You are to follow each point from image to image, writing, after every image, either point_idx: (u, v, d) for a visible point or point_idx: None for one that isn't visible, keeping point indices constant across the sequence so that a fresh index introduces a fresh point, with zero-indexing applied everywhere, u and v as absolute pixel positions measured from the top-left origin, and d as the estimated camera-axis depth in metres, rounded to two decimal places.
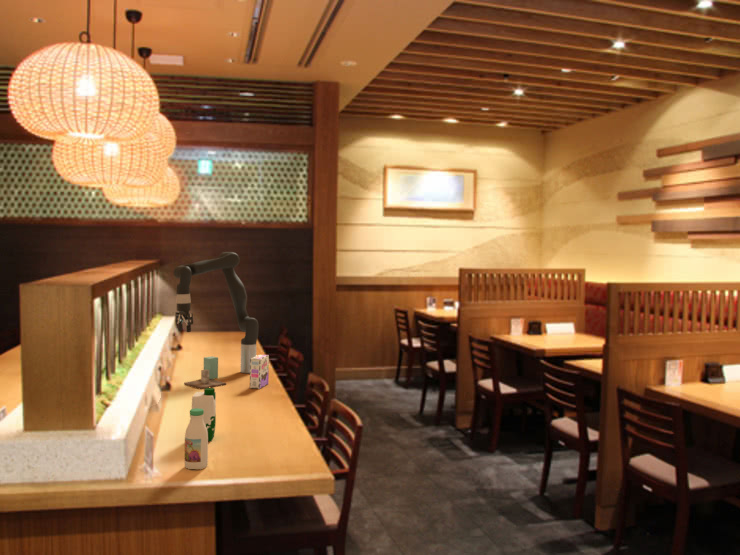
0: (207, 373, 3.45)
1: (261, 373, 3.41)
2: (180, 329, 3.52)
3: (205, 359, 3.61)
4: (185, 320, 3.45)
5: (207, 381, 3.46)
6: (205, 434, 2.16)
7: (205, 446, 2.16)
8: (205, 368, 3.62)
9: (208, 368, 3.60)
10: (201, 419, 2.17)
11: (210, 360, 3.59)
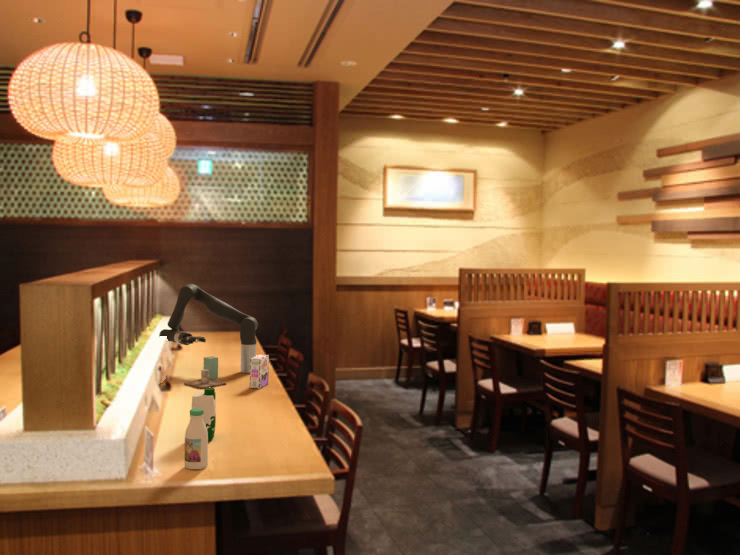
0: (207, 373, 3.45)
1: (261, 373, 3.41)
2: (203, 340, 3.74)
3: (205, 359, 3.61)
4: None
5: (207, 381, 3.46)
6: (205, 434, 2.16)
7: (205, 446, 2.16)
8: (205, 368, 3.62)
9: (208, 368, 3.60)
10: (201, 419, 2.17)
11: (210, 360, 3.59)
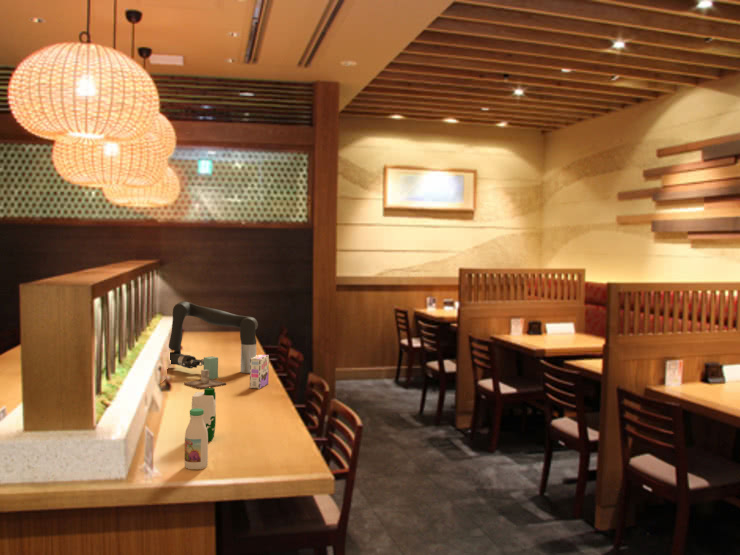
0: (207, 373, 3.45)
1: (261, 373, 3.41)
2: None
3: (205, 359, 3.61)
4: None
5: (207, 381, 3.46)
6: (205, 434, 2.16)
7: (205, 446, 2.16)
8: (205, 368, 3.62)
9: (208, 368, 3.60)
10: (201, 419, 2.17)
11: (210, 360, 3.59)
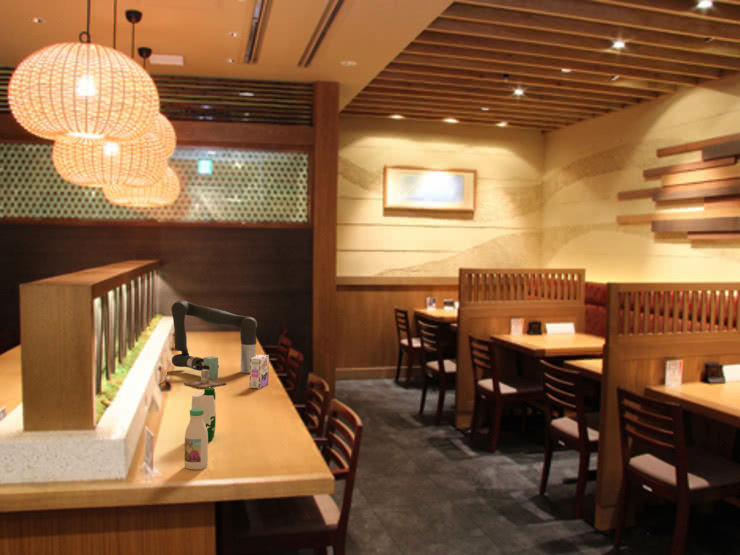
0: (207, 373, 3.45)
1: (261, 373, 3.41)
2: None
3: (205, 359, 3.61)
4: None
5: (207, 381, 3.46)
6: (205, 434, 2.16)
7: (205, 446, 2.16)
8: None
9: None
10: (201, 419, 2.17)
11: (210, 360, 3.59)
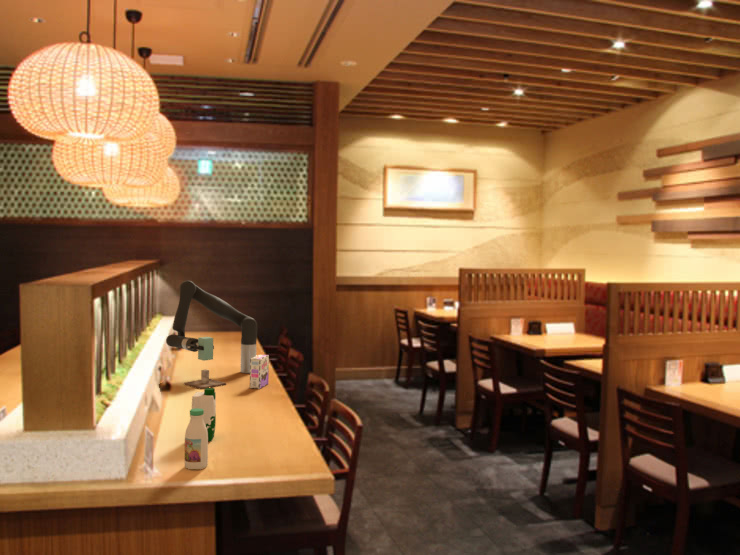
0: (207, 373, 3.45)
1: (261, 373, 3.41)
2: None
3: (200, 339, 3.47)
4: (196, 349, 3.49)
5: (207, 381, 3.46)
6: (205, 434, 2.16)
7: (205, 446, 2.16)
8: None
9: None
10: (201, 419, 2.17)
11: (205, 340, 3.45)
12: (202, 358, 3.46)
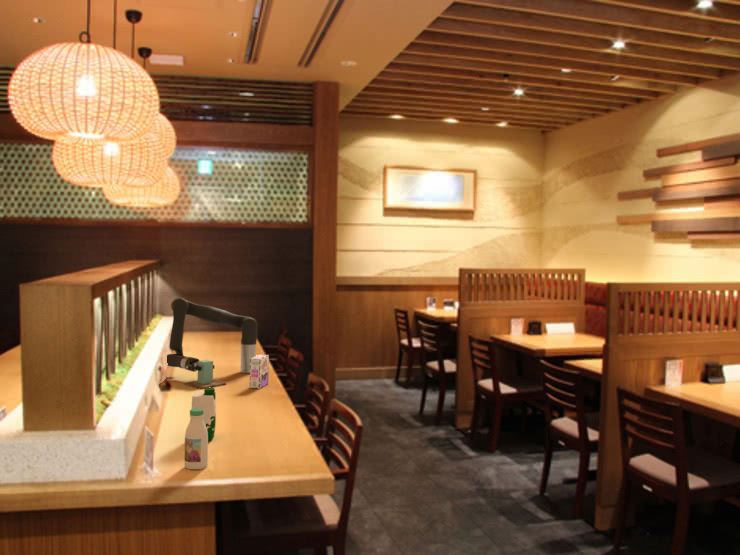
0: None
1: (261, 373, 3.41)
2: None
3: (199, 363, 3.44)
4: None
5: None
6: (205, 434, 2.16)
7: (205, 446, 2.16)
8: (199, 372, 3.45)
9: (202, 372, 3.43)
10: (201, 419, 2.17)
11: (205, 364, 3.42)
12: (201, 382, 3.43)
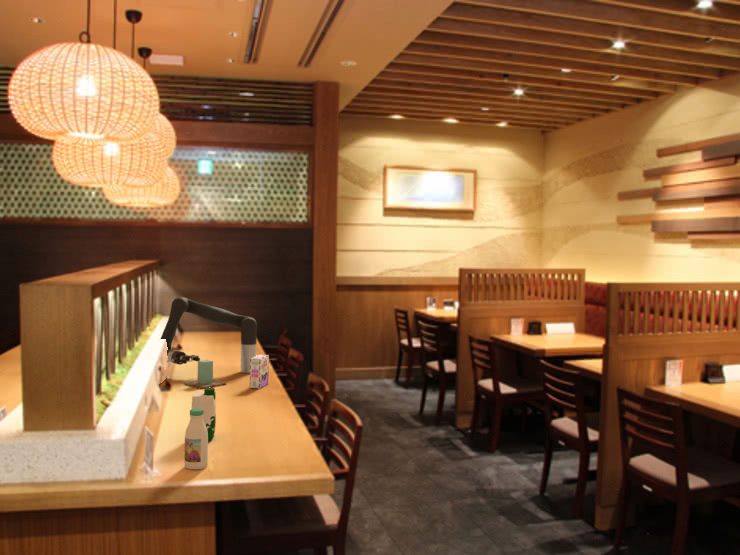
0: None
1: (261, 373, 3.41)
2: (198, 360, 3.58)
3: (199, 363, 3.44)
4: None
5: None
6: (205, 434, 2.16)
7: (205, 446, 2.16)
8: (199, 372, 3.45)
9: (202, 372, 3.43)
10: (201, 419, 2.17)
11: (204, 364, 3.42)
12: (201, 382, 3.43)
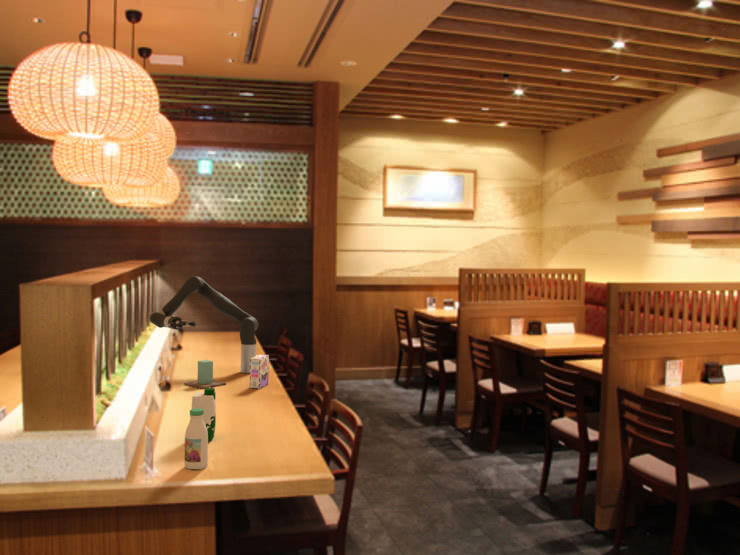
0: None
1: (261, 373, 3.41)
2: (193, 324, 3.68)
3: (199, 363, 3.44)
4: (176, 327, 3.66)
5: None
6: (205, 434, 2.16)
7: (205, 446, 2.16)
8: (199, 372, 3.45)
9: (202, 372, 3.43)
10: (201, 419, 2.17)
11: (204, 364, 3.42)
12: (201, 382, 3.43)
